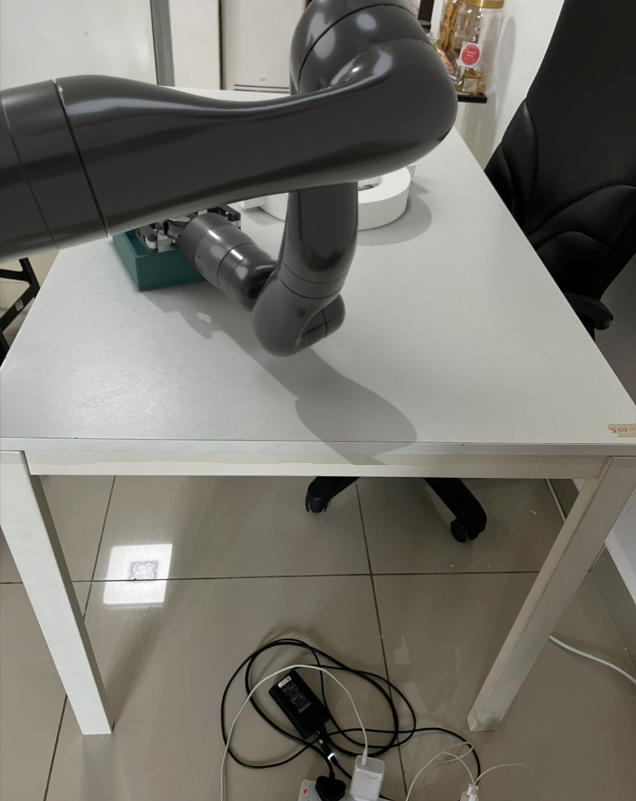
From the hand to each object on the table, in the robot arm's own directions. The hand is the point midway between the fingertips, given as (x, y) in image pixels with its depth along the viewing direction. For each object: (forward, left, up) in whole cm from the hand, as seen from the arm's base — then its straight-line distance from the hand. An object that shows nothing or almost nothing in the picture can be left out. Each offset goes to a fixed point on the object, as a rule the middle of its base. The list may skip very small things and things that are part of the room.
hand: (162, 204), depth 91 cm
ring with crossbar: (+33, +11, -8) cm, 36 cm away
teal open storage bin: (0, -2, -8) cm, 8 cm away
